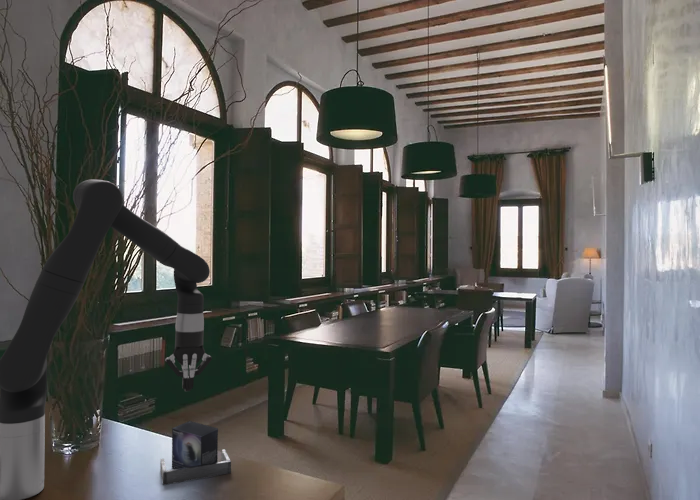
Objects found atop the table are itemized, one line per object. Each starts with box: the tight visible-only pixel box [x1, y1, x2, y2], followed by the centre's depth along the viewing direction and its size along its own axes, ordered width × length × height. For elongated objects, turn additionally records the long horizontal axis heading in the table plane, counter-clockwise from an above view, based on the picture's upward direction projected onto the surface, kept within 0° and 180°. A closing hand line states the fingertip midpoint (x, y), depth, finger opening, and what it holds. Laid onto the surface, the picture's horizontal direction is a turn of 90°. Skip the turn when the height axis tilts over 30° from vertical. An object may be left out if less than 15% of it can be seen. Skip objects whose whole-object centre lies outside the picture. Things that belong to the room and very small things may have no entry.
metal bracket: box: [159, 448, 232, 486], centre depth 126 cm, size 16×8×3 cm, turn 115°
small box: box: [171, 420, 219, 469], centre depth 128 cm, size 11×6×10 cm, turn 61°
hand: (187, 390), depth 141 cm, fingers closed
